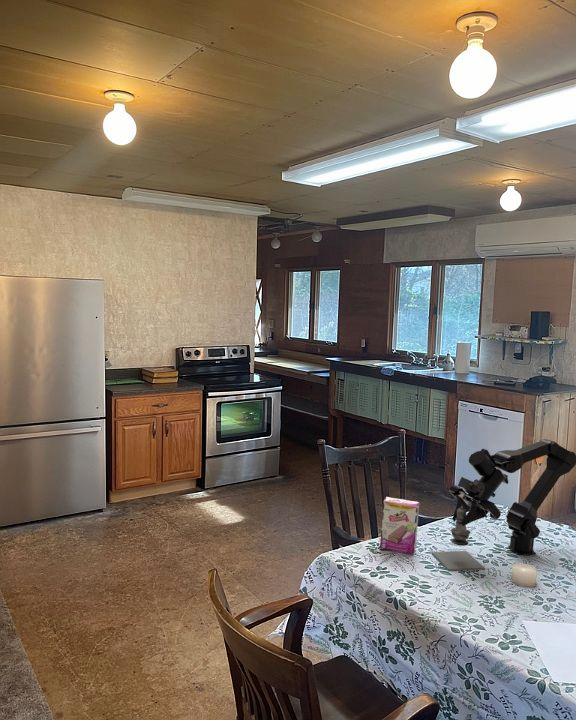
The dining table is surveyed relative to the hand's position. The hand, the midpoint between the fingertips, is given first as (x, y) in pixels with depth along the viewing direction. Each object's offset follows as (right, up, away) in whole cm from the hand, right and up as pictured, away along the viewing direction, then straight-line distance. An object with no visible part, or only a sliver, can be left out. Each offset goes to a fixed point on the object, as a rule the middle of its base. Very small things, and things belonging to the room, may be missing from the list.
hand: (457, 522), depth 182 cm
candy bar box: (-17, -12, +9) cm, 22 cm away
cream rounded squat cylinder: (+17, -15, -9) cm, 24 cm away
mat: (+1, -13, +2) cm, 13 cm away
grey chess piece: (+1, -7, +1) cm, 7 cm away
